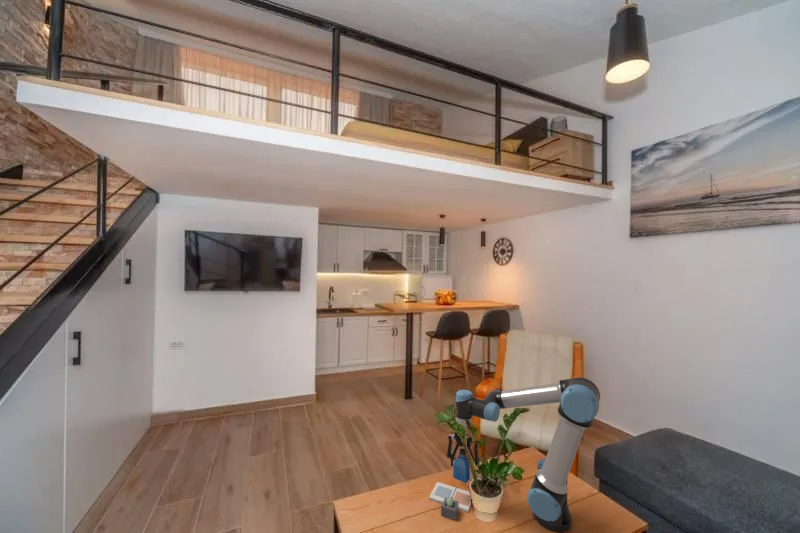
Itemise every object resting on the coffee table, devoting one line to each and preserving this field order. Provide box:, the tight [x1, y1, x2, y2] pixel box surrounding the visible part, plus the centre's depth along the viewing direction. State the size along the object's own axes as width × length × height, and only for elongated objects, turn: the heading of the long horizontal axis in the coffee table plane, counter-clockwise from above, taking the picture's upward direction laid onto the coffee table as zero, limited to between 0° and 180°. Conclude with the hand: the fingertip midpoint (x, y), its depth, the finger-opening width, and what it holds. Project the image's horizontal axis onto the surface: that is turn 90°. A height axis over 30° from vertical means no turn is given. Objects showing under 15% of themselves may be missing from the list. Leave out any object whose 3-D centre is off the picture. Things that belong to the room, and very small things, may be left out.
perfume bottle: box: [452, 448, 470, 484], centre depth 144 cm, size 6×6×12 cm
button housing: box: [440, 497, 459, 521], centre depth 136 cm, size 6×6×4 cm
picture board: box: [428, 481, 472, 513], centre depth 146 cm, size 18×12×1 cm, turn 65°
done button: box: [447, 497, 453, 508], centre depth 136 cm, size 3×3×4 cm
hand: (462, 475), depth 144 cm, fingers closed on perfume bottle, 7 cm apart
